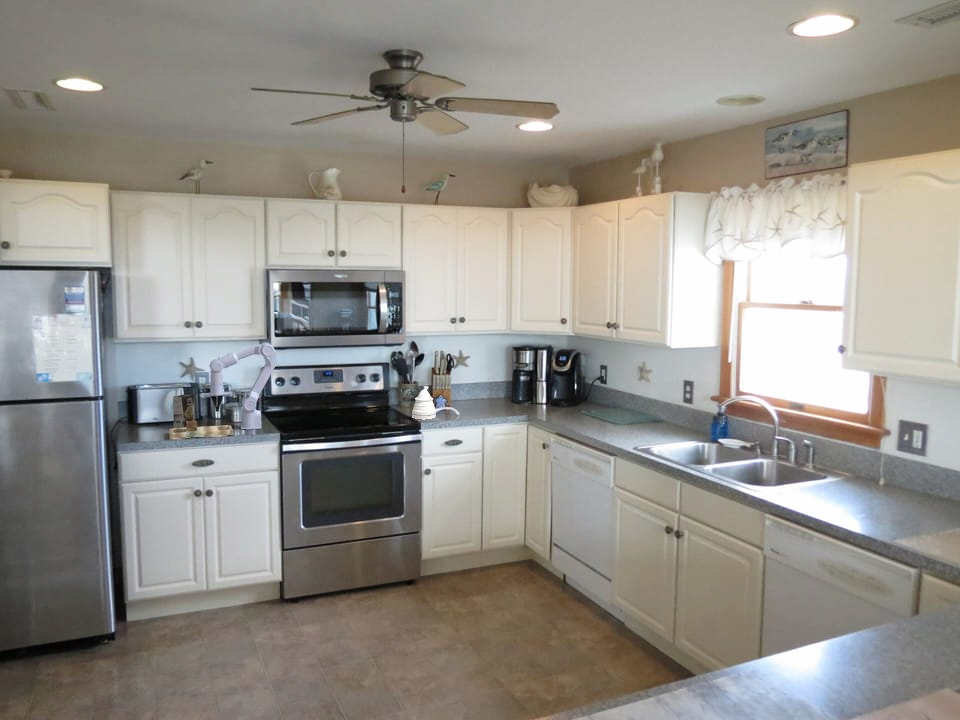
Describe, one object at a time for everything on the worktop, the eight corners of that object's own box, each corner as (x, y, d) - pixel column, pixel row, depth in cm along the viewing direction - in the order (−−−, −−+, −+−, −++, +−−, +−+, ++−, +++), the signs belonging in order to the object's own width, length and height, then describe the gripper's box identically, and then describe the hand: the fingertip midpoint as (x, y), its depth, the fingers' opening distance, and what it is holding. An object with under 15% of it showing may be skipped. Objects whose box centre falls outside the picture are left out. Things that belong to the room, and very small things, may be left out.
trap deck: (230, 430, 366) (230, 425, 365) (233, 435, 353) (233, 430, 353) (169, 433, 355) (169, 428, 354) (169, 439, 342) (169, 434, 342)
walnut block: (196, 428, 355) (196, 420, 354) (197, 430, 351) (196, 422, 350) (186, 429, 353) (186, 421, 353) (186, 431, 349) (186, 423, 348)
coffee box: (184, 429, 365) (184, 397, 363) (173, 428, 366) (172, 396, 365) (195, 425, 374) (194, 394, 372) (184, 425, 375) (183, 393, 373)
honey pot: (419, 416, 411) (419, 384, 409) (439, 418, 405) (440, 386, 403) (407, 420, 399) (408, 387, 397) (428, 422, 394) (429, 389, 392)
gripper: (201, 385, 356) (201, 413, 358) (232, 384, 362) (233, 411, 363) (200, 383, 362) (201, 410, 364) (231, 382, 368) (232, 409, 370)
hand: (217, 411), depth 364 cm, fingers closed
